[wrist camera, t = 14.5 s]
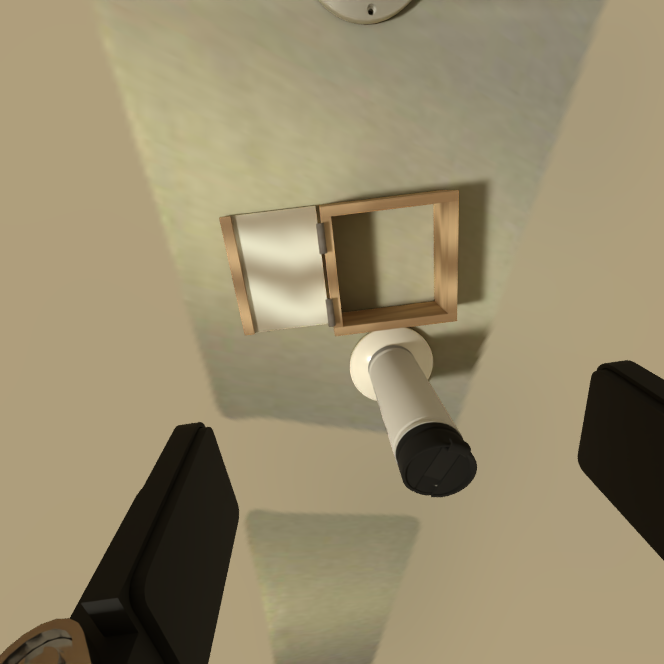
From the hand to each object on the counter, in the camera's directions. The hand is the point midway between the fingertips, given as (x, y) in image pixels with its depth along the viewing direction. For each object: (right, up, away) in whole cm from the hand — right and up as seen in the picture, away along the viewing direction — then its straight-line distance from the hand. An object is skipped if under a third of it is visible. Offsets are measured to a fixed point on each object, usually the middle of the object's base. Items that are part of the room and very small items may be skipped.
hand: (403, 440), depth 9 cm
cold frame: (-1, +11, +34) cm, 36 cm away
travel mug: (+6, -2, +39) cm, 40 cm away
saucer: (+6, -1, +40) cm, 40 cm away
